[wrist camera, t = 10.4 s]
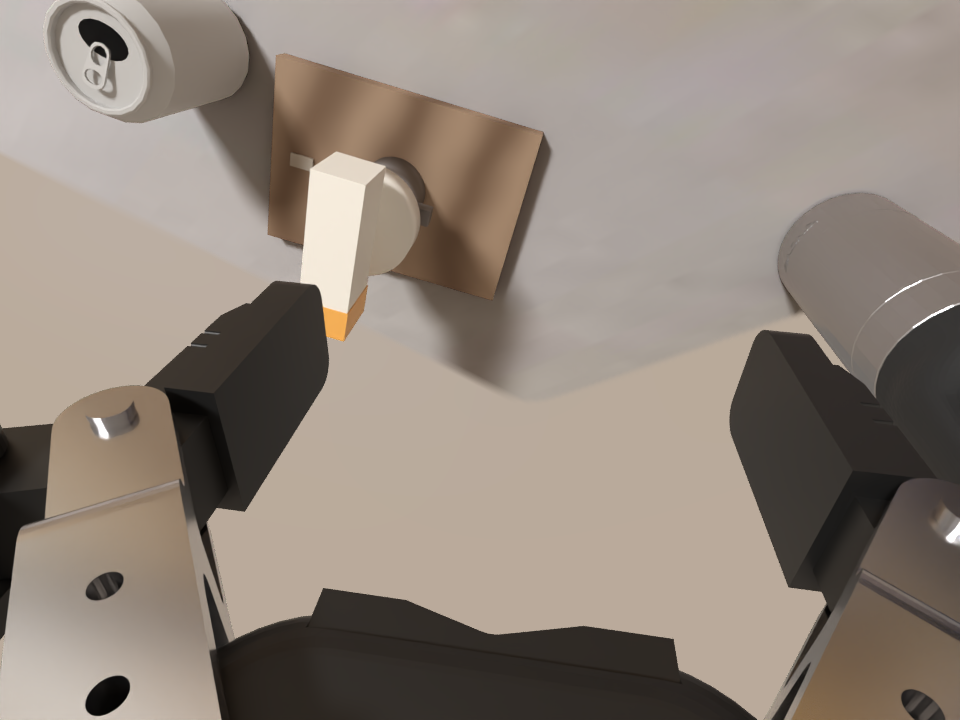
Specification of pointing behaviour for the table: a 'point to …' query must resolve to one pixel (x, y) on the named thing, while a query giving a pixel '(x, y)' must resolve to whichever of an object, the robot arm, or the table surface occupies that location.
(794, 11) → the table surface
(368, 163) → the twist knob
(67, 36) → the can
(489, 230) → the lock base
